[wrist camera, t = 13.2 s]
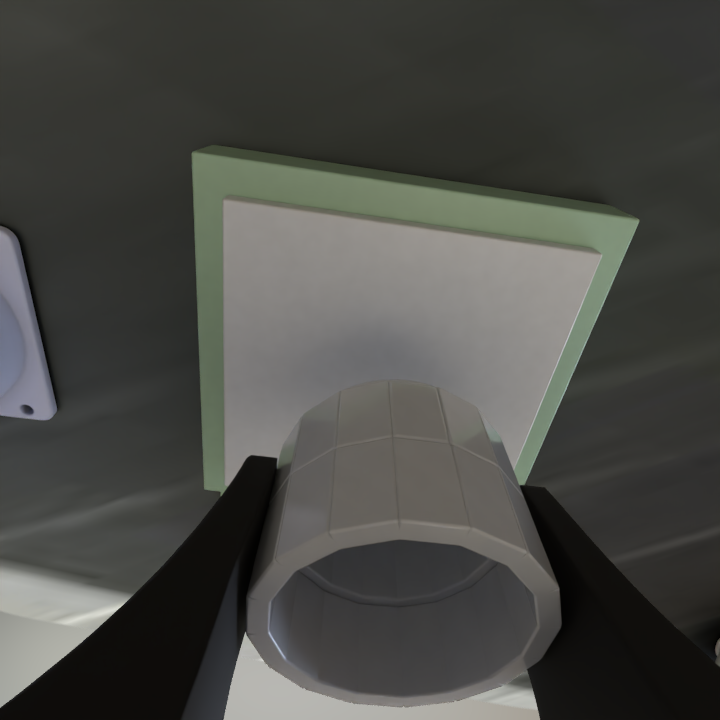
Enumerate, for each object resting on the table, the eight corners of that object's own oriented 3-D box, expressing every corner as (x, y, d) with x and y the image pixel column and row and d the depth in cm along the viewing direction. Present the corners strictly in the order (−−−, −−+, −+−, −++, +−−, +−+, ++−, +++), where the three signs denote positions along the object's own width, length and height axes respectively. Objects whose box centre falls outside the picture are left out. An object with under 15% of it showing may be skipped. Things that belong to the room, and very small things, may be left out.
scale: (216, 457, 21) (199, 501, 19) (211, 143, 14) (183, 153, 12) (497, 488, 22) (512, 534, 20) (610, 204, 15) (652, 224, 13)
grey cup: (278, 522, 14) (242, 695, 10) (290, 355, 11) (247, 504, 7) (468, 542, 14) (507, 717, 10) (528, 385, 11) (615, 543, 7)
